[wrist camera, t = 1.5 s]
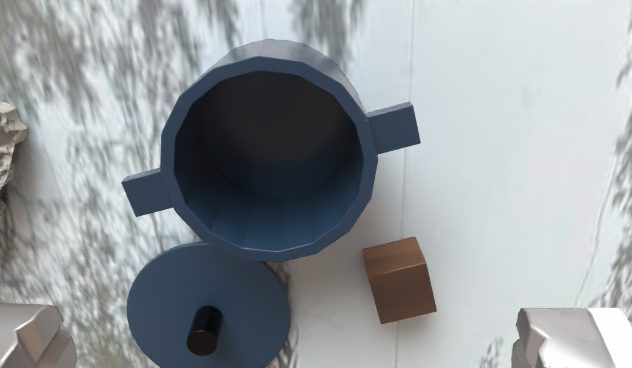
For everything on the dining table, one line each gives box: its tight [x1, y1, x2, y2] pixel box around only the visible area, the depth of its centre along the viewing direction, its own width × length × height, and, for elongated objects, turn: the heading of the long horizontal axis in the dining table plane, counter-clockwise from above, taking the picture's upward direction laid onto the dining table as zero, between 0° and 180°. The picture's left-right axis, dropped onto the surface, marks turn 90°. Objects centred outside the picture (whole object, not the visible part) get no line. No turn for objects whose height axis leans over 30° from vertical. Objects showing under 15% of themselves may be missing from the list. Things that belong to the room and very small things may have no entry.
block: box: [363, 237, 437, 324], centre depth 43 cm, size 4×4×4 cm
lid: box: [127, 242, 291, 368], centre depth 44 cm, size 14×14×5 cm
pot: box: [122, 39, 421, 263], centre depth 36 cm, size 13×18×10 cm
